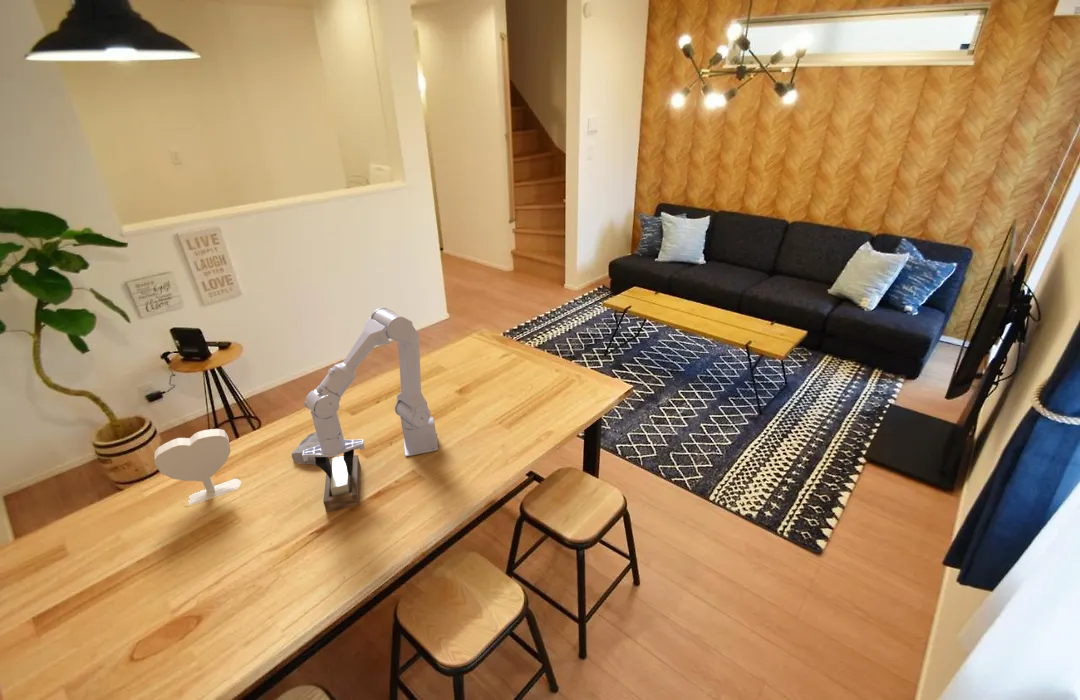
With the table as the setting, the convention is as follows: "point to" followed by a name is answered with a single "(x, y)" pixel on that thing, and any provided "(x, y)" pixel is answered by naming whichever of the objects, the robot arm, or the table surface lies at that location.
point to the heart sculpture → (197, 462)
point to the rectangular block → (340, 477)
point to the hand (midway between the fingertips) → (340, 474)
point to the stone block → (304, 445)
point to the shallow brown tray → (344, 499)
